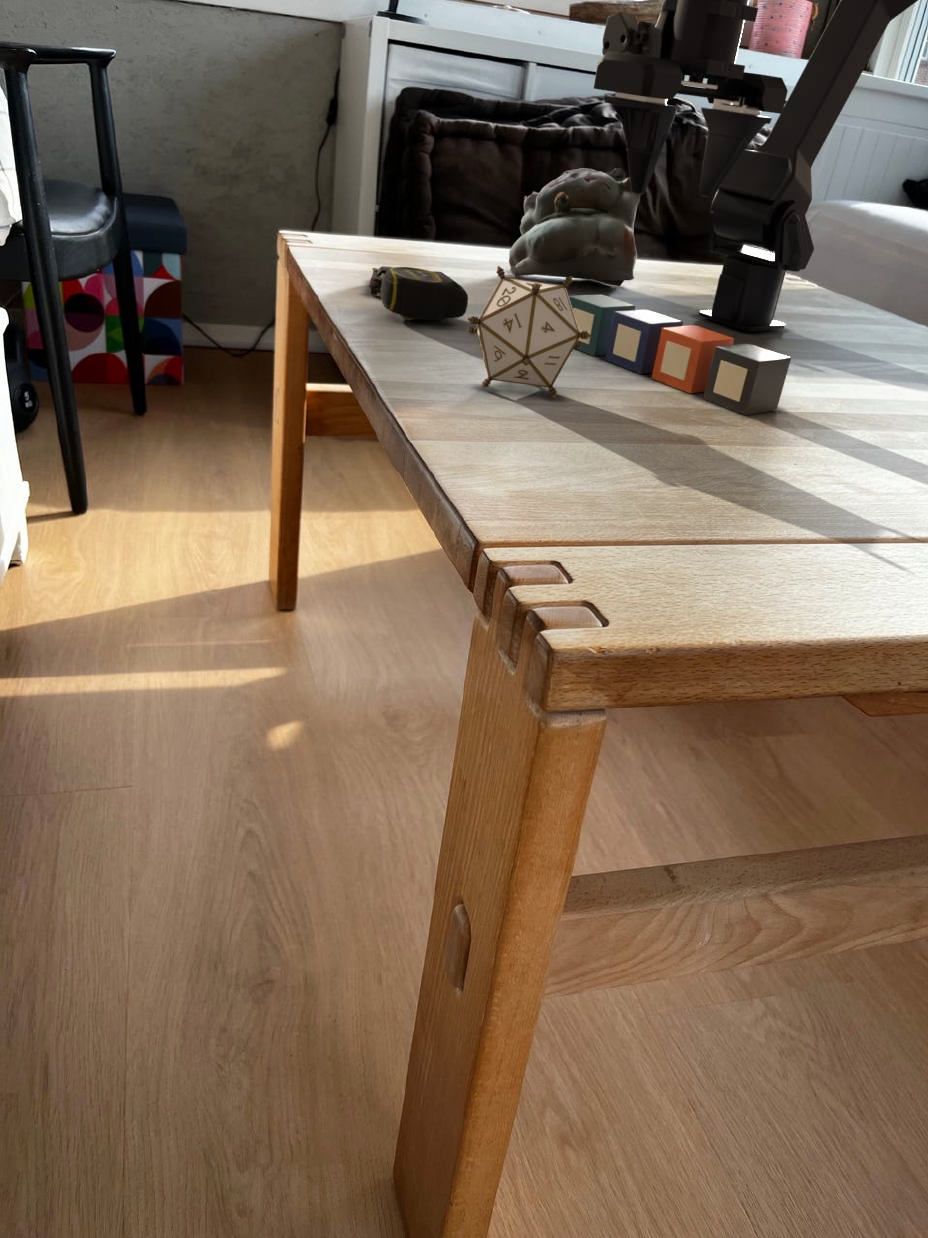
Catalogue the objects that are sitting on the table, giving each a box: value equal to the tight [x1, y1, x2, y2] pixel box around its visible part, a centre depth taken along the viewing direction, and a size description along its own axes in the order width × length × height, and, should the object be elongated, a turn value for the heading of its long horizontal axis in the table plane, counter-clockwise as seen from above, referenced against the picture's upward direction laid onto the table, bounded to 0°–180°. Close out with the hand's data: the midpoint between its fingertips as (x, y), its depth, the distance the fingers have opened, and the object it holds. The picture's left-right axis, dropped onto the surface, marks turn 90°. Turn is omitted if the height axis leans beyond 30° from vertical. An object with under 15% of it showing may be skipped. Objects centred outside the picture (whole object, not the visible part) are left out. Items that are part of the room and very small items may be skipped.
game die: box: [466, 265, 591, 399], centre depth 72 cm, size 9×8×10 cm
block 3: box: [703, 343, 792, 416], centre depth 77 cm, size 4×4×4 cm
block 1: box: [568, 293, 636, 357], centre depth 87 cm, size 4×4×4 cm
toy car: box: [369, 265, 395, 296], centre depth 97 cm, size 8×4×2 cm, turn 1°
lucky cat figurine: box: [508, 167, 641, 287], centre depth 112 cm, size 15×12×14 cm
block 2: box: [604, 308, 684, 375], centre depth 83 cm, size 4×4×4 cm
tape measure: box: [380, 266, 469, 321], centre depth 88 cm, size 7×7×4 cm
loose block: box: [651, 324, 735, 394], centre depth 80 cm, size 4×4×4 cm
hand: (672, 194), depth 90 cm, fingers open, 9 cm apart
